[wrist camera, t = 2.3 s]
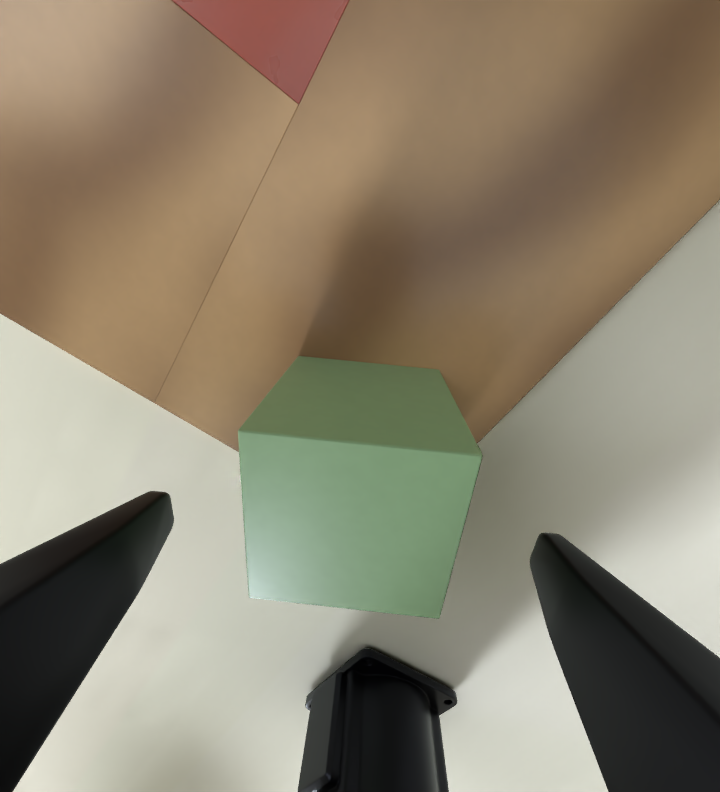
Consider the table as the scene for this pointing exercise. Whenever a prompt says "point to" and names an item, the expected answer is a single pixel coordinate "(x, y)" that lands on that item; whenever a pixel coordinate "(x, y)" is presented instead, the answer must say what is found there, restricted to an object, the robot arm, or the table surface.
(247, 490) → the green nearly cubic block
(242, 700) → the table surface
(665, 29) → the brown red square board
